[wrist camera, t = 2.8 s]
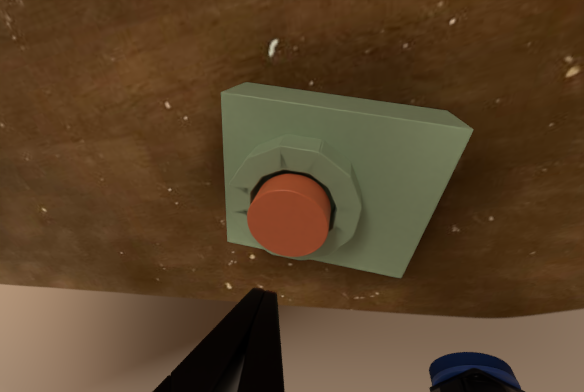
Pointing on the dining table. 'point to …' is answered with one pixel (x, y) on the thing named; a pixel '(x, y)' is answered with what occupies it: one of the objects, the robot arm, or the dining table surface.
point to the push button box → (342, 167)
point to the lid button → (290, 215)
